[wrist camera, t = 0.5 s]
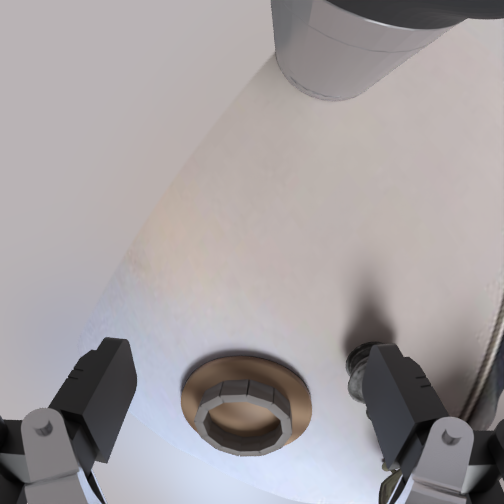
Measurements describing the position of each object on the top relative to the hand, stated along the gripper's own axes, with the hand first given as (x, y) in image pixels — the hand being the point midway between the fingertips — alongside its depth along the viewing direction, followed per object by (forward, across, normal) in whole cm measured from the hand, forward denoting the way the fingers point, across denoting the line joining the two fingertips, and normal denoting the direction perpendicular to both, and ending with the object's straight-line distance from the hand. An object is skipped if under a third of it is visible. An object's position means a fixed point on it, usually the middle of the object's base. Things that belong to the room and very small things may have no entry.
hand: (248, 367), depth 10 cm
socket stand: (+18, 0, +22) cm, 29 cm away
